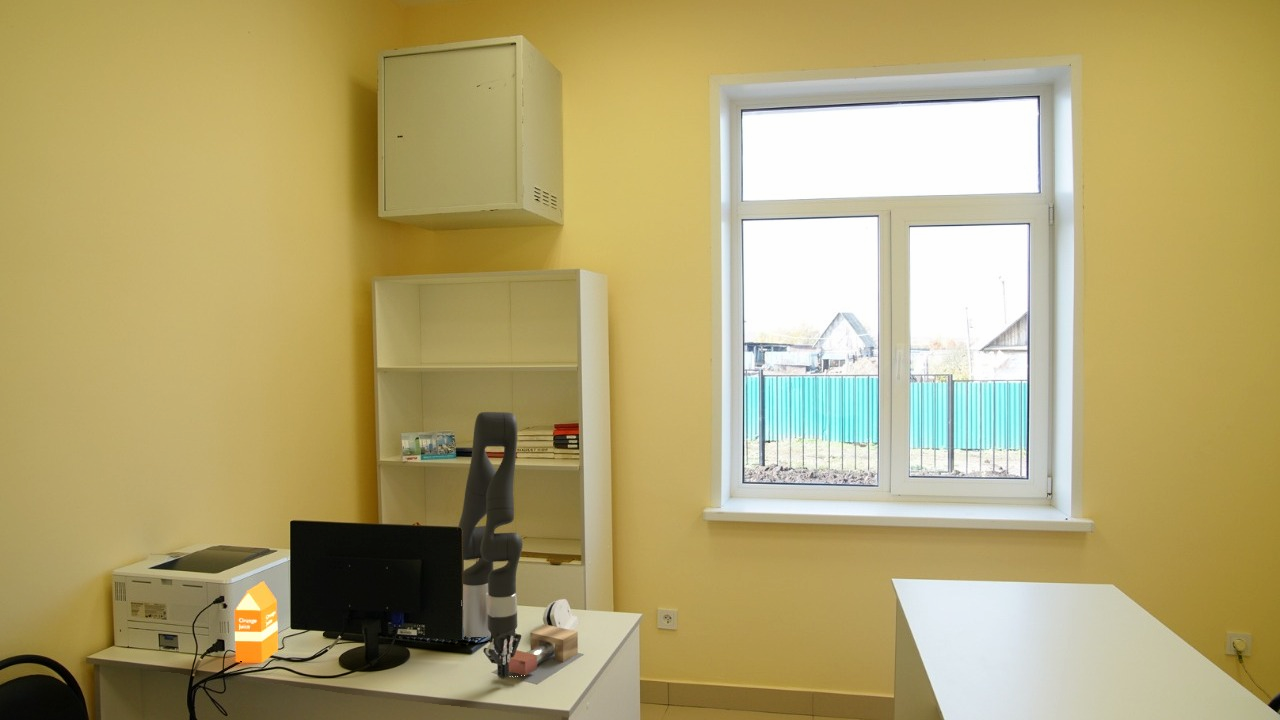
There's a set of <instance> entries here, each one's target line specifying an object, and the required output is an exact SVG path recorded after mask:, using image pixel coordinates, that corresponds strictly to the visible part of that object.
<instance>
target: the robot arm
mask: <svg viewBox="0 0 1280 720" xmlns="http://www.w3.org/2000/svg"><path fill="white" fill-rule="evenodd" d="M517 443H518V422H517V417H516V416H515V414H514V413H513V412H508V411H507V412H505V411H503V412H500V411H497V412H496V411H483V412H480V413H478V414H477V416H476V418H475V422H474V428H473V439H472V448H471V450H472V452H471V458H470V459H471V460H470V465H469V469H468V475H467V479H466V484H465V490H464V500H463V506H462V512H461V516H460V520H459V523H458V526H457V528H458V527H459V528H462V530H463V560H462V561H469V560H470V561H471V560H477V559H478V560H477V561H476V562H475V563H474V564H473V565H471V566H470V567H467V568H465V569H464V570H463V571H462V572H463V603H464V604H463V610H464V637H465V636H466V637H487V636H488V637H490V641H489V644H488V646H487V647H484V648H483V654H484V655H485V656H486V657H487V658H488V660H489V661H490V663H491V664H494V665H495V664H496V667H497V669H496V670H498V671H497V672H498V674H497V676H498V678H500V679H505V678H508V677H507V676H508V673H509V662H510V658H511V657H514V655H515V653H516V650H518V647H519V645H520V641H521V640H522V634H519V633H516V630H517V628H518V599H517V583H516V582H517V570H518V566H519V562H520V558H521V555H522V550H523V545H524V544H523V540H522V537H521V535H520V534H518V533H517V532H500V533H497V532H496V529H497V528H498V527H501V526H504V525H508V524H509V525H510V524H512V523H513V522H514V519H515V503H514V484H515V483H514V479H515V469H516V457H517V445H518V444H517ZM487 447H503V456H502V459H501V462H500V464H499V466H498V468H497V470H496V468H495V466H494V465H493V463H492V462H491V460H490V459H489V457H488V455H487V452H486V448H487ZM485 516H486V522H485V525H480V526H477V525H478V524H479V522H480V521H481V520H482V519H483V518H484V517H485ZM495 532H496V533H495ZM506 561H507V563H506V564H505V565H504V566H502V567H498V568H495V569H494V562H495V563H497V562H506Z"/></svg>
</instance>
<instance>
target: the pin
mask: <svg viewBox="0 0 1280 720" xmlns="http://www.w3.org/2000/svg"><path fill="white" fill-rule="evenodd" d="M529 651H530V650H529ZM527 652H528V651H526V652H525V651H522V650H521V651H520V650H518V649H517V650H516V653H515V655H514V657H511V658H510V662H509V671H510V672H514V673H518V674H521V675H527V674H529V673H530V672H532V671H533V670H535V669H537V665H538V664H539V663H541V662H543V661H544V660H546V659H548V658H549V657H551V656H553V655H554V646H553V644H552V643H550V642H546V643H544V644H542V645H540V646H539V647H537V648H535V649H533V650H532V651H530V652H528V653H527Z"/></svg>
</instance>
